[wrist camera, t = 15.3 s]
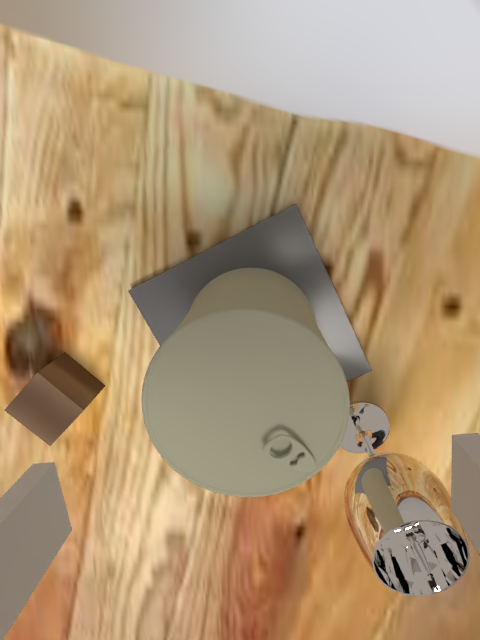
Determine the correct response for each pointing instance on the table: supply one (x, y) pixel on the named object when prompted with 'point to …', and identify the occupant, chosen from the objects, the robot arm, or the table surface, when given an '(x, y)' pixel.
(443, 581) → the wineglass
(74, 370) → the walnut block
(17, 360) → the table surface
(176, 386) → the can
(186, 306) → the coaster
